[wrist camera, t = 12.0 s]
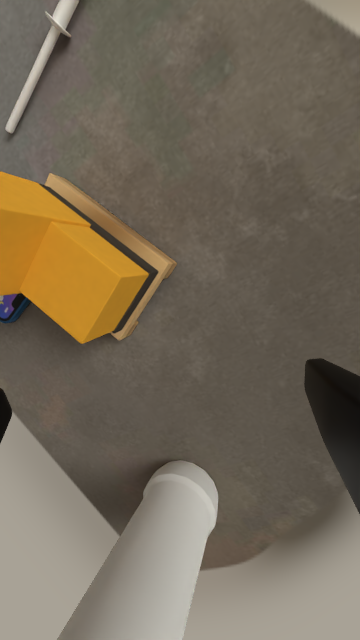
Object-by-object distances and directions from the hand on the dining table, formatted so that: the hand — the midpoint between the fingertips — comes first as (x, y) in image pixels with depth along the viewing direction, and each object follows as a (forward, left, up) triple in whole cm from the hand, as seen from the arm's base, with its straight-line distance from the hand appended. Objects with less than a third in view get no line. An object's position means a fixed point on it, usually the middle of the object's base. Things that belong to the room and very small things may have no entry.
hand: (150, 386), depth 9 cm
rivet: (+20, +4, -10) cm, 23 cm away
